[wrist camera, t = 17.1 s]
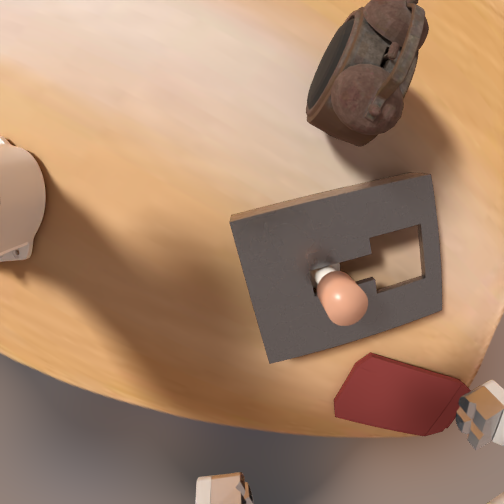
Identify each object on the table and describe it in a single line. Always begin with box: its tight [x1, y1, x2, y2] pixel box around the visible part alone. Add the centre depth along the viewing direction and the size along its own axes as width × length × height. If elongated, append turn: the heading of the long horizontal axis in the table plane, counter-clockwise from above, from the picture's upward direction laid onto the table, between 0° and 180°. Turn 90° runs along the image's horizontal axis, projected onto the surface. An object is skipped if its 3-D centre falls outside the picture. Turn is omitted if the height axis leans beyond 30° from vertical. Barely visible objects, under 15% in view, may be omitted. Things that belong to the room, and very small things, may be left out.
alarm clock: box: [306, 0, 429, 146], centre depth 26 cm, size 14×7×20 cm, turn 158°
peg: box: [309, 263, 368, 326], centre depth 35 cm, size 5×5×12 cm
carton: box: [334, 353, 471, 436], centre depth 46 cm, size 12×5×25 cm
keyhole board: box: [230, 173, 442, 364], centre depth 38 cm, size 18×24×5 cm
